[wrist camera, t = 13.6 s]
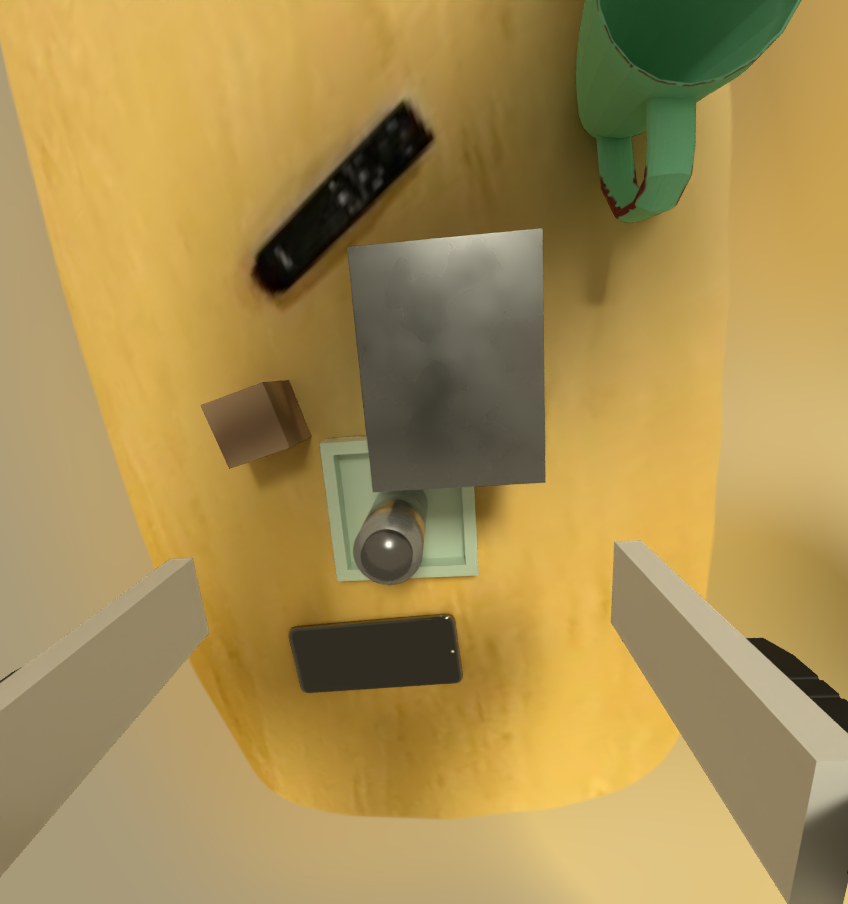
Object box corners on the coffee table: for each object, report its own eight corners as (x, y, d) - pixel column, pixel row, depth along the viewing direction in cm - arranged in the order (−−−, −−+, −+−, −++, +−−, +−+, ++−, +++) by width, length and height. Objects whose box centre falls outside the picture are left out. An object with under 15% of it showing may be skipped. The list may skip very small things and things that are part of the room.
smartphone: (285, 630, 38) (454, 616, 36) (290, 623, 39) (454, 609, 37) (301, 695, 39) (464, 684, 37) (305, 687, 40) (463, 676, 39)
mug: (545, 22, 27) (602, -172, 17) (693, 13, 27) (839, -191, 17) (535, 254, 30) (580, 201, 20) (668, 251, 30) (779, 194, 20)
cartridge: (373, 481, 33) (346, 525, 24) (425, 477, 33) (419, 521, 24) (378, 530, 34) (354, 591, 25) (429, 527, 34) (424, 588, 25)
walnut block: (235, 399, 34) (200, 405, 29) (289, 380, 33) (262, 382, 28) (259, 454, 35) (229, 468, 30) (311, 436, 34) (289, 447, 29)
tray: (328, 438, 34) (319, 443, 31) (469, 428, 33) (471, 433, 31) (344, 567, 36) (337, 581, 34) (476, 560, 36) (478, 575, 33)
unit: (382, 295, 31) (340, 247, 19) (508, 284, 31) (554, 227, 18) (395, 445, 34) (367, 492, 21) (512, 437, 33) (556, 481, 20)
